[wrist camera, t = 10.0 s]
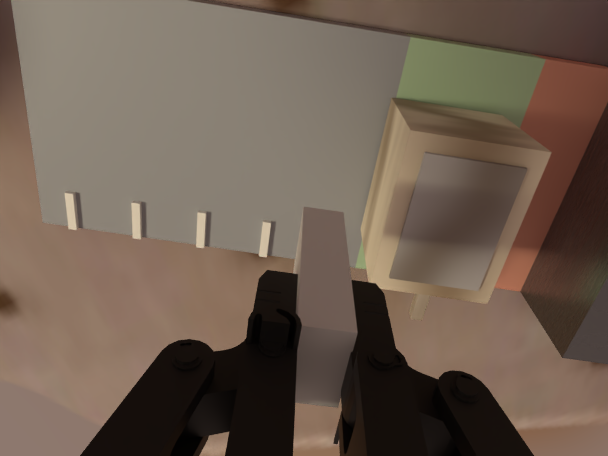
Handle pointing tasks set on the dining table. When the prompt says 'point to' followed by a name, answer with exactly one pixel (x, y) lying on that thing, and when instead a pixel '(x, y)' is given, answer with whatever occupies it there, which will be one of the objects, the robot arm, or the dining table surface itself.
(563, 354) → the grey block
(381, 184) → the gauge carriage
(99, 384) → the dining table surface
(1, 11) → the dining table surface
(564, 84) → the track
